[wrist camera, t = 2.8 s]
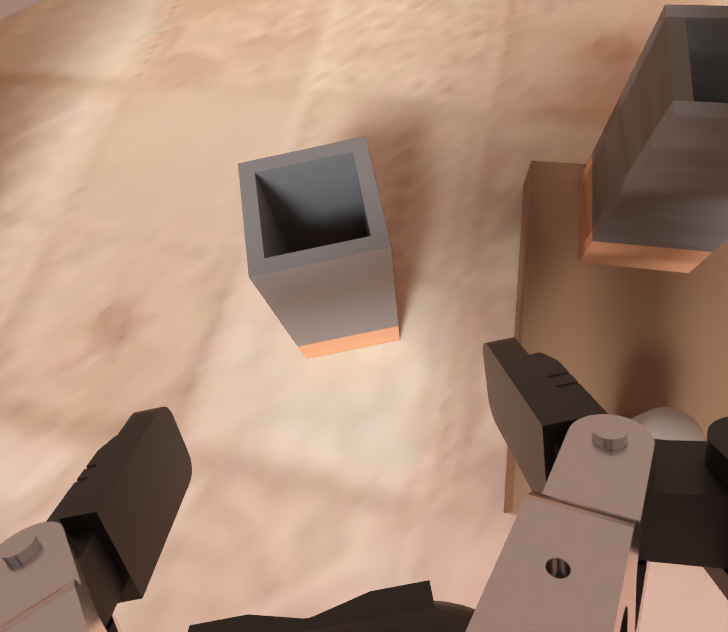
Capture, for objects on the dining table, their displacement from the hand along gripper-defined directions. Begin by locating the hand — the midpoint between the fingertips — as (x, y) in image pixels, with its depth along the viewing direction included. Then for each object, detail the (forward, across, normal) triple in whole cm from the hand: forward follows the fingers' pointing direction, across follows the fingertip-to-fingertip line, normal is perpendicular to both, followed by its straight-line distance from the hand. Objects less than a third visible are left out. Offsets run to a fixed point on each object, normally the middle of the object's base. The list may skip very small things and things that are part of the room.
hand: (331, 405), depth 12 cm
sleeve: (+14, 0, +3) cm, 14 cm away
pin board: (+11, -13, +6) cm, 18 cm away
